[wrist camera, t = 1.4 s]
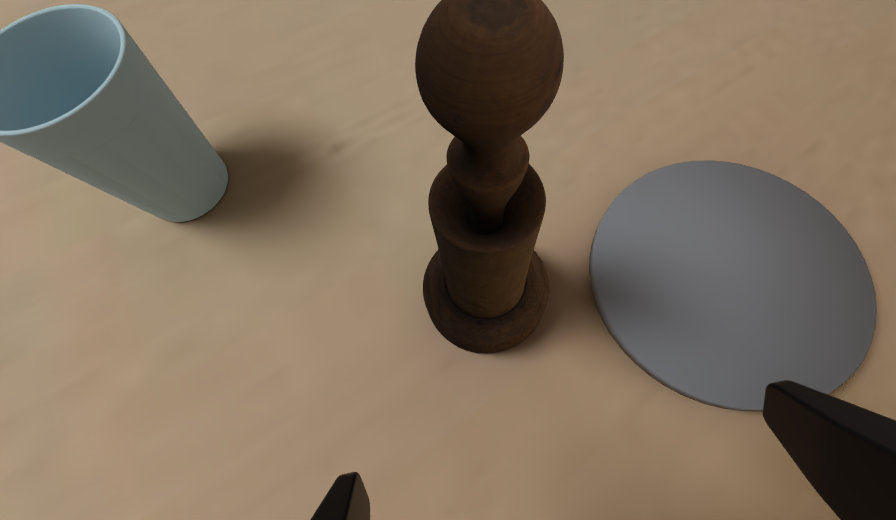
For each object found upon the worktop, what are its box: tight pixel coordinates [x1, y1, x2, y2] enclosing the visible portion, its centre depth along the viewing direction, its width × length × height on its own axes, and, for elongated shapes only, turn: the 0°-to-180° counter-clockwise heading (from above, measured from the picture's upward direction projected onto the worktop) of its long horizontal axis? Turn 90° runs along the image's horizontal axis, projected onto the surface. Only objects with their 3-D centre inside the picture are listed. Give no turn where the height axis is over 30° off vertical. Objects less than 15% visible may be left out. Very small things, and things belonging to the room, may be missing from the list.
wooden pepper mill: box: [415, 0, 564, 353], centre depth 16 cm, size 7×6×18 cm
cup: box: [0, 4, 228, 222], centre depth 24 cm, size 8×8×10 cm
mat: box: [589, 161, 876, 411], centre depth 23 cm, size 14×14×1 cm
